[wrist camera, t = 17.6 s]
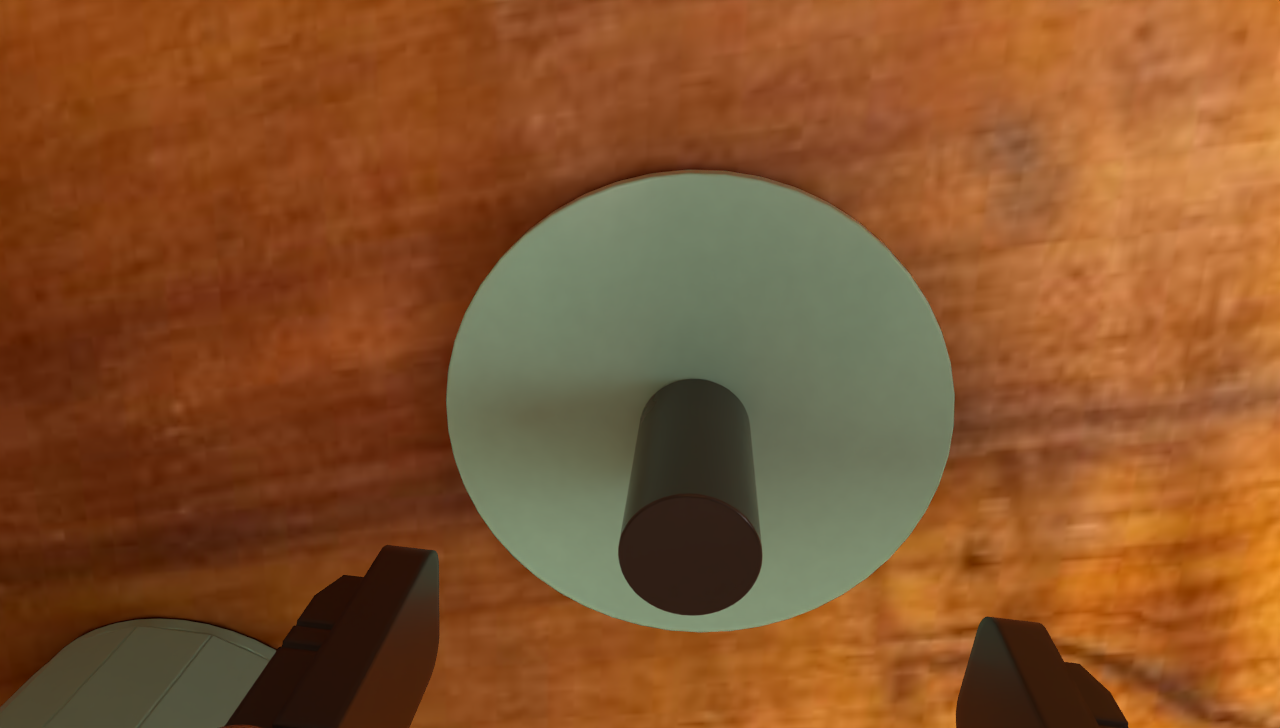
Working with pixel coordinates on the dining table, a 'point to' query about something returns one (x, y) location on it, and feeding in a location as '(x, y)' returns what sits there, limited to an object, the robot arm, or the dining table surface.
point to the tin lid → (700, 401)
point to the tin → (141, 678)
